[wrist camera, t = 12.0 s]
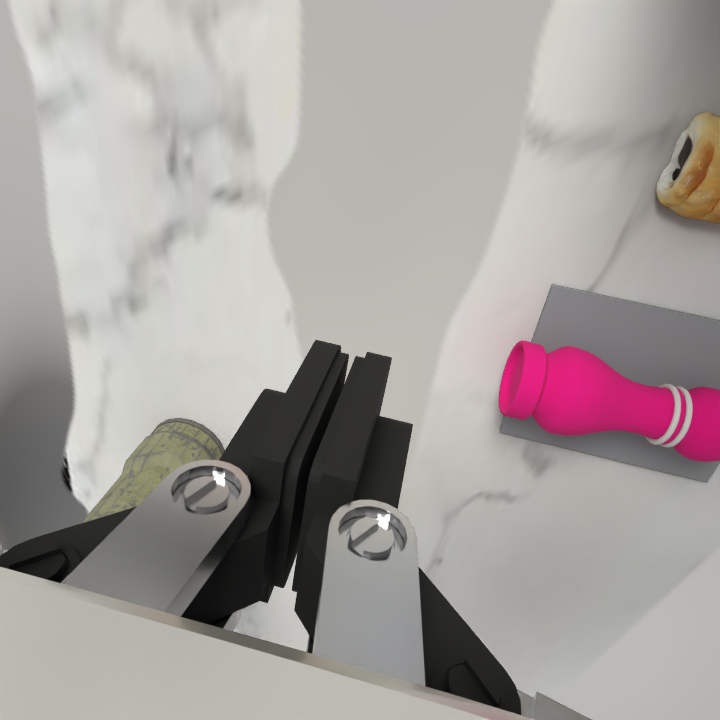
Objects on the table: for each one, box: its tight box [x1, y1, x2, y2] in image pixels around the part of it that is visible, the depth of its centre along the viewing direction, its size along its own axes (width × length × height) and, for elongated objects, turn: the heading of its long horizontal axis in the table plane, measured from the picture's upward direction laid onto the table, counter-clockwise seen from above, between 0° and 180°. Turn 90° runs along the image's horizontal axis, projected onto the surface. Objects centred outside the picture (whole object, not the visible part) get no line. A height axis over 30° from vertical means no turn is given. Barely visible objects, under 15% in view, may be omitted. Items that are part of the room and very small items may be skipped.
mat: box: [500, 284, 720, 482], centre depth 49 cm, size 15×19×1 cm
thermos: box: [82, 418, 225, 523], centre depth 47 cm, size 9×12×35 cm
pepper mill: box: [499, 341, 720, 462], centre depth 46 cm, size 7×7×20 cm
